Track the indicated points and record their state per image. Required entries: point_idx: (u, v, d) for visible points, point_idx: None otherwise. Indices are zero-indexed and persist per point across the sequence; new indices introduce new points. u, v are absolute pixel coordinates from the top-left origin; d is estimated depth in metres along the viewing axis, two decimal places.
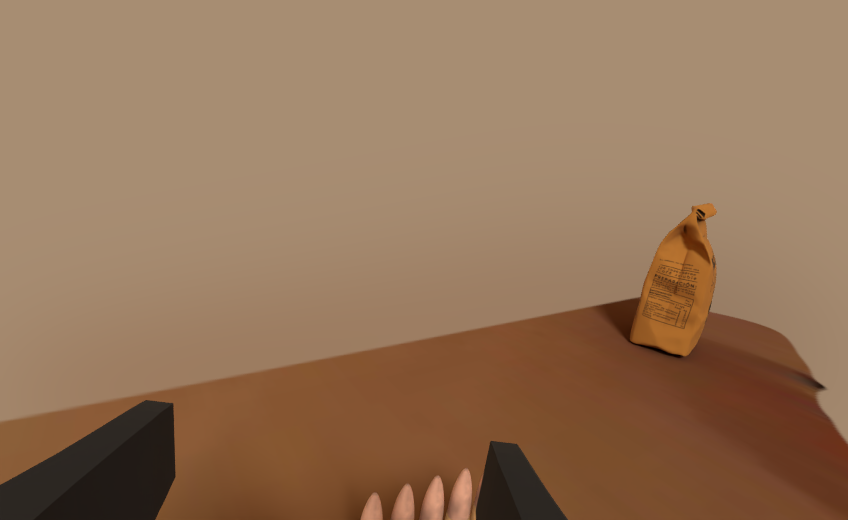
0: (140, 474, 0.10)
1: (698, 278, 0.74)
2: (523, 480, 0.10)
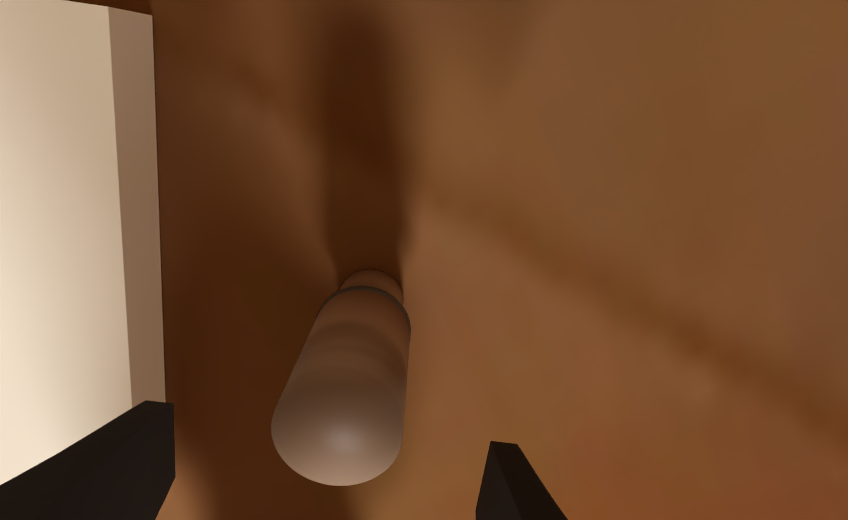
0: (139, 474, 0.10)
1: None
2: (523, 480, 0.10)
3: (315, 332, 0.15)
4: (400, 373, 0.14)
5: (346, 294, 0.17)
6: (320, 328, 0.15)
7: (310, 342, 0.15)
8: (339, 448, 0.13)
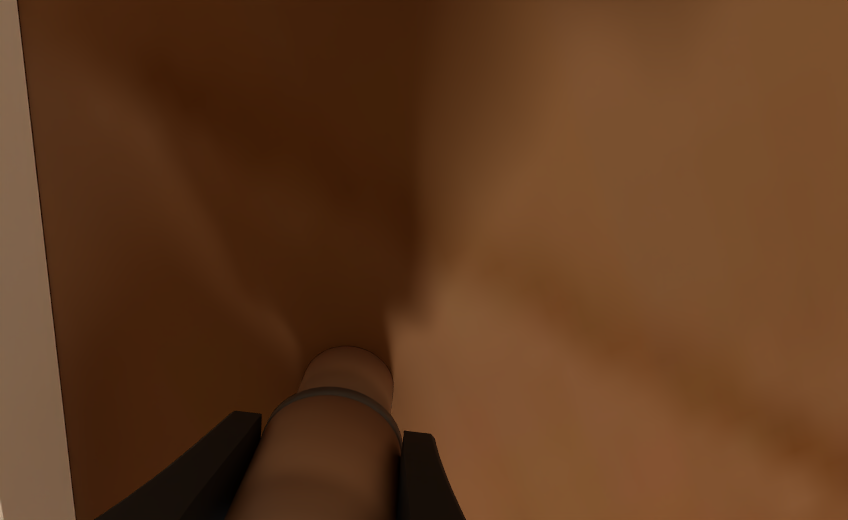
0: (237, 485, 0.11)
1: None
2: (424, 468, 0.10)
3: (248, 485, 0.10)
4: None
5: (304, 403, 0.11)
6: (255, 478, 0.10)
7: (236, 510, 0.09)
8: None
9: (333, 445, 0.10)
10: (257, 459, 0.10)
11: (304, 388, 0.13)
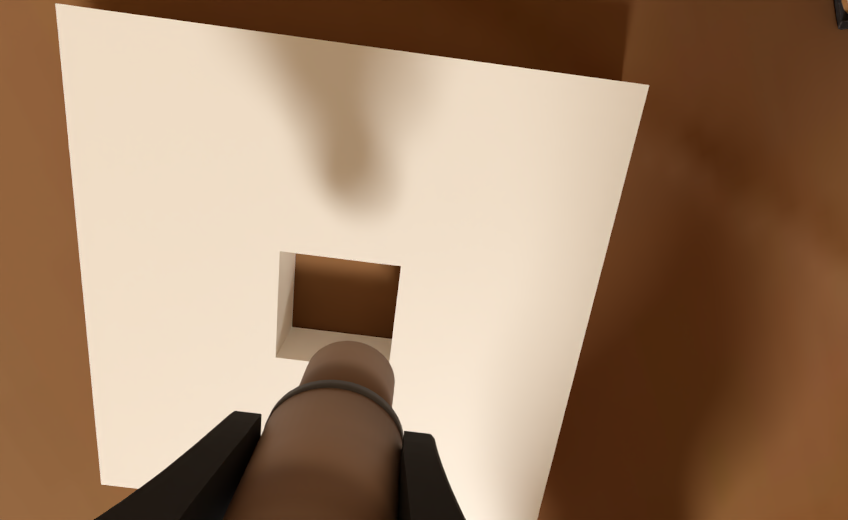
0: (237, 485, 0.11)
1: None
2: (424, 468, 0.10)
3: (250, 476, 0.10)
4: None
5: (306, 395, 0.11)
6: (258, 469, 0.10)
7: (239, 500, 0.09)
8: None
9: (335, 437, 0.10)
10: (260, 450, 0.10)
11: (306, 382, 0.13)
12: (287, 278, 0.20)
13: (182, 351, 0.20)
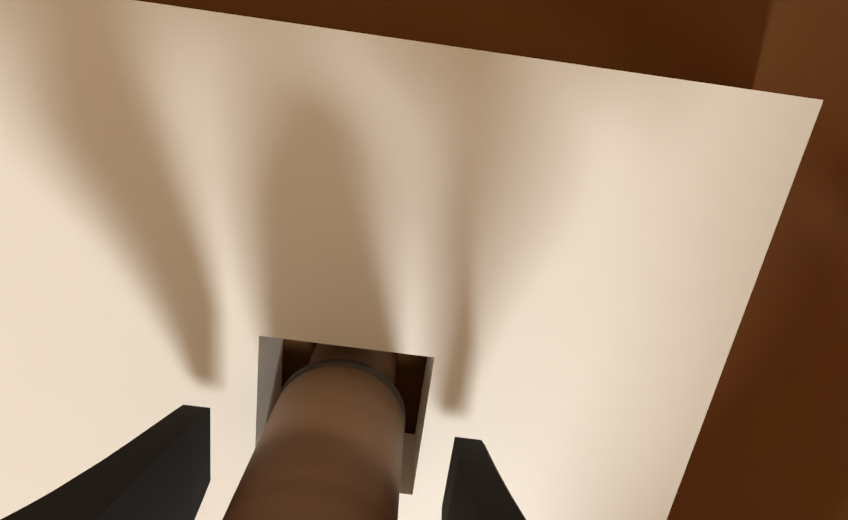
0: (181, 479, 0.10)
1: None
2: (482, 475, 0.10)
3: (265, 442, 0.10)
4: (388, 515, 0.10)
5: (315, 372, 0.12)
6: (273, 436, 0.10)
7: (255, 463, 0.10)
8: None
9: (343, 408, 0.11)
10: (273, 421, 0.11)
11: (314, 362, 0.14)
12: (271, 363, 0.14)
13: None
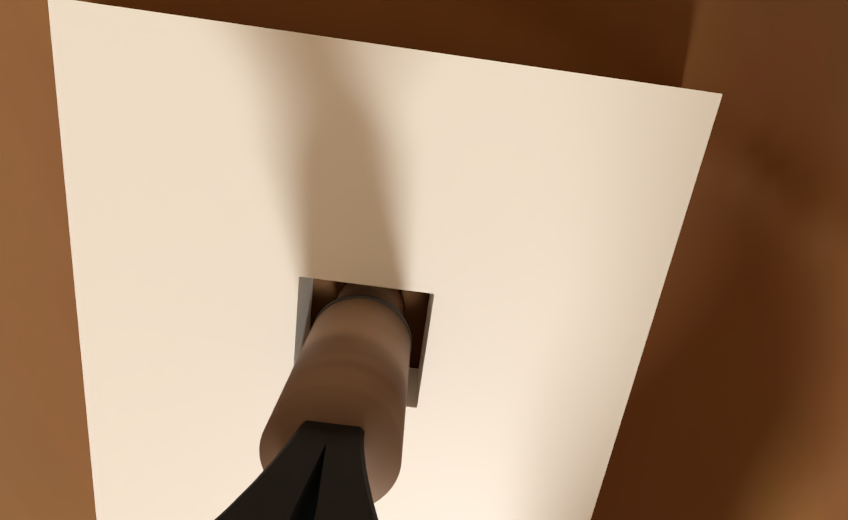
0: (317, 494, 0.11)
1: None
2: (343, 459, 0.10)
3: (309, 345, 0.14)
4: (399, 390, 0.13)
5: (343, 302, 0.16)
6: (314, 341, 0.14)
7: (303, 356, 0.14)
8: None
9: (365, 323, 0.15)
10: (313, 334, 0.15)
11: None
12: (305, 304, 0.18)
13: (188, 385, 0.18)
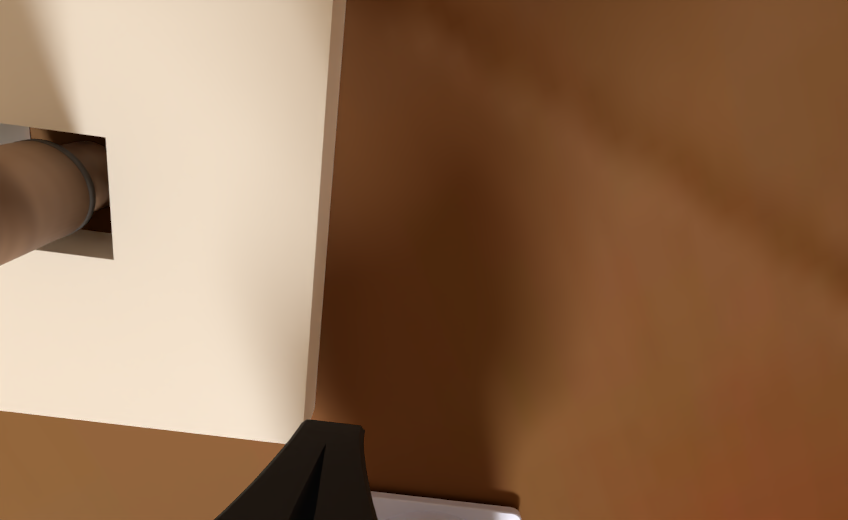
0: (317, 494, 0.11)
1: None
2: (342, 459, 0.10)
3: None
4: None
5: None
6: None
7: None
8: None
9: (3, 150, 0.15)
10: None
11: None
12: None
13: None
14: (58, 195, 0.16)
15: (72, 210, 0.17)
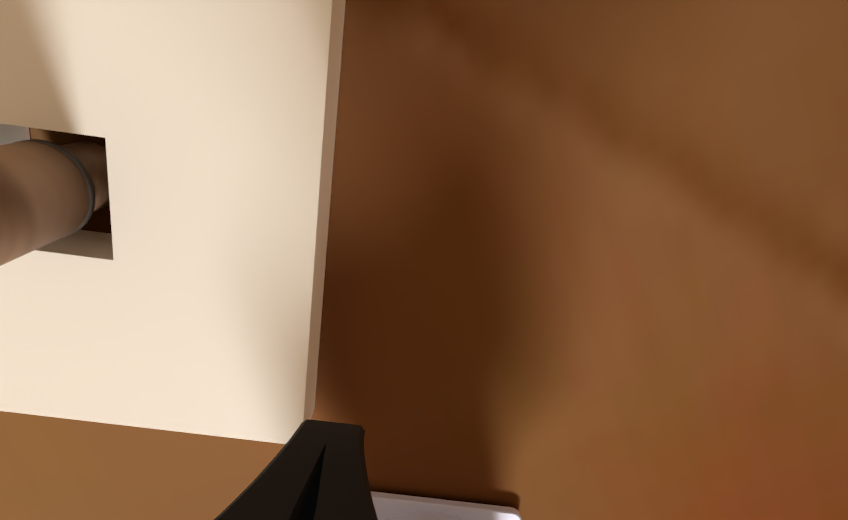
0: (317, 494, 0.11)
1: None
2: (343, 459, 0.10)
3: None
4: None
5: None
6: None
7: None
8: None
9: (3, 150, 0.15)
10: None
11: None
12: None
13: None
14: (58, 195, 0.16)
15: (72, 210, 0.17)
